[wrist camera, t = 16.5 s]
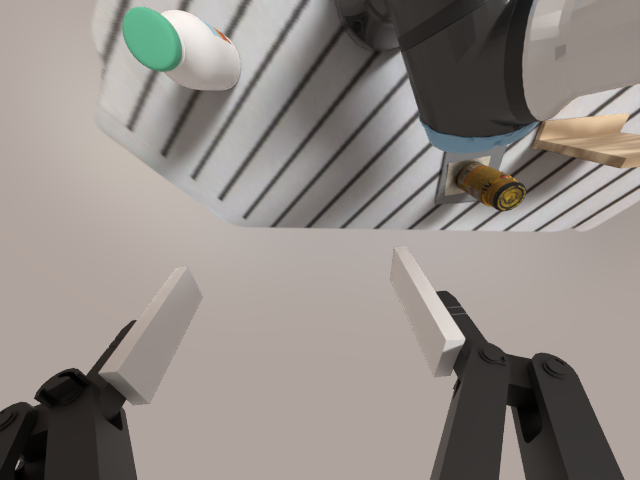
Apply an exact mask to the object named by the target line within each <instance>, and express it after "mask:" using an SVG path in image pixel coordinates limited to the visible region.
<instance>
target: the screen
mask: <svg viewBox="0 0 640 480" xmlns="http://www.w3.org/2000/svg"><path fill="white" fill-rule="evenodd" d="M629 115H630V114H625V113H623V114H613V115H602V116H591V117H580V118H570V119H559V120H548V121H542V123H541V125H540V128H539V130H538V133H537V135H536V138H535V141H534V143H533V146H532V148H533V149H543V150H547V151H551V152H555V153H559V154H563V155H568V156H572V157H576V158H580V159H584V160H588V161H592V162H596V163H600V164H604V165H608V166H612V167H616V168H630V167H640V135H636V134H628V133H621V132H620V131H621V129H622V127H623V126H624V124H625V122H626V120H627V118H628V117H629Z"/></svg>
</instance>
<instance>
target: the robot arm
mask: <svg viewBox="0 0 640 480" xmlns="http://www.w3.org/2000/svg"><path fill="white" fill-rule="evenodd" d="M336 6H337V11H338V14H339V17H340V20H341V22H342V25H343V27H344V29H345V30H346V32H347V33H348V35H349V36H350V37H351V38H352V39H353V40H354V41H355V42H356V43H357V44H358V45H360V46H361V47H363V48H365V49H368V50H371V51H388V50H391V49H394V48H396V47H398V46H400V49H401V54H402V57H403V60H404V64H405V67H406V70H407V74H408V77H409V80H410V84H411V87H412V90H413V94H414V97H415V100H416V104H417V107H418V110H419V119H420V122H421V123H422V125H423V127H424V128H425V131H426V134H427V136H428V139H429V141H430V142H431V144H432V145H433V146H434V147H436V148H438V149H439V150H442V151H445V152H449V153H460V154H464V153H476V152H482V151H487V150H491V149H493V147H494V146H496V145H500V146H505V145H507V144H510V143H512V142H514V141H516V140H518V139H520V138H522V137H523V136H525V135H526V134H528V133H529V132H530V131H531V130H532V129H533V128H534V127H535V126H536V125H537V123H538V121H544V120H548V119H551V118H553V117H554V116H555V115H556V114H558V113H559V112H560V111H561V110H562V109H563V108H564V107H565V106H566V105H568V104H569V103H570V102H571V101H572V100H574V99H575V98H577V97H579V96H583V95H588V94H593V93H598V92H602V91H607V90H612V89H616V88H621V87H626V86H631V85H635V84H640V0H336ZM390 280H391V283H392V285H393V287H394V289H395V292H396V294H397V296H398V298H399V301H400V303H401V305H402V307H403V309H404V312H405V314H406V316H407V318H408V321H409V323H410V325H411V327H412V330H413V332H414V334H415V336H416V339H417V341H418V343H419V345H420V347H421V350H422V352H423V354H424V356H425V359H426V361H427V363H428V365H429V368H430V370H431V372H432V374H433V376H434V377H441V376H450V375H451V373H452V370H453V369H454V371H455V373H456V374H457V376H458V379H457V381H456V383H455V385H454V388H453V389H454V393H453V396H452V400H451V404H450V407H449V412H448V415H447V419H446V423H445V426H444V430H443V434H442V437H441V441H440V445H439V448H438V452H437V456H436V460H435V463H434V467H433V471H432V475H431V478H430V480H499V472H500V462H501V452H502V443H503V433H504V423H505V413H506V405H509V406H511V409H512V413H513V419H514V423H515V428H516V433H517V438H518V444H519V448H520V453H521V458H522V463H523V467H524V473H525V478H526V480H624V477H623V475H622V473H621V471H620V468H619V466H618V464H617V462H616V460H615V457H614V455H613V453H612V451H611V448H610V446H609V444H608V442H607V440H606V437H605V435H604V433H603V431H602V429H601V426H600V424H599V422H598V420H597V417H596V415H595V413H594V411H593V408H592V406H591V404H590V402H589V399H588V397H587V395H586V393H585V391H584V389H583V386H582V384H581V382H580V379H579V377H578V375H577V374H576V372H575V371H574V369H573V368H572V367H571V366H570V365H568V364H567V363H566V362H565V361H563V360H562V359H560V358H558V357H556V356H554V355H550V354H547V353H538V354H535V355H534V357H533V358H532V359H529V358H524V357H519V356H514V355H509V354H506V353H504V352H503V351H502V350H501V349H500V348H498V347H497V346H495V345H493V344H491V343H488V342H487V340H486V339H485V338H484V337H483V335H482V334H481V332H480V331H479V330H478V328H477V327H476V326H475V324H474V323H473V321H472V320H471V319H470V317H469V316H468V315H467V314H466V312H465V311H464V309H463V308H462V307H461V305H460V303H459V302H458V301H457V299H456V298H455V297H454V296H453V295H451V294H450V293H449V292H447V291H438V292H435V291H434V289H433V288H432V286H431V284H430V283H429V281H428V280H427V278H426V277H425V275H424V274H423V272H422V270H421V269H420V267H419V266H418V264H417V263H416V261H415V260H414V258H413V257H412V255H411V253H410V252H409V250H408V249H407V247H406V246H400V247H394V249H393V258H392V268H391V277H390ZM202 298H203V296H202V294H201V292H200V290H199V288H198V286H197V284H196V282H195V280H194V277H193V275H192V273H191V271H190V269H189V267H188V266H186V267H177V268H175V270H174V271H173V272H172V274H171V275H170V276H169V278H168V279H167V281H166V282H165V283H164V284H163V286H162V287H161V289H160V290H159V291H158V293H157V294H156V295H155V297H154V298H153V299H152V301H151V302H150V304H149V305H148V306H147V307H146V309H145V310H144V312H143V313H142V315H141V316H140V317H139V318H138V320H133V321H131V322H130V323H129V324H128V325H127V326H125V327H124V328H123V329H122V330H121V331H120V333H119V334H118V336H116V338H115V340H114V341H113V342H112V343H111V344H110V346H109V348H108V349H106V351H105V352H104V353H103V355H102V356H101V357H100V359H99V360H98V361H97V362H96V364H95V365H94V366H93V368H92V369H91V370H90V371H89V373H88V374H87V375H86V376H85V375H84V374H83V373H82V372H81V371H79V370H78V369H75V368H71V369H66V370H64V371H62V372H60V373H58V374H56V375H55V376H53V377H51V378H50V379H49V380H48V381H46V382H45V383H44V384H43V385H42V386H41V388H40V389H39V390H38V391H37V392H36V395H35V398H34V399H36V400H37V401H38V402H40V403H41V404H40V405H37V406H34V407H33V406H31V405H30V404H28V403H26V402H19V403H16V404H13V405H11V406H9V407H7V408H5V409H4V410H2V411H1V412H0V480H137V475H136V469H135V464H134V459H133V453H132V447H131V442H130V436H129V430H128V425H127V419H126V414H125V411H124V409H123V408H122V406H123V404H124V402H125V401H126V399H127V400H128V401H129V402H130V403H131V404H132V405H142V404H150V402H151V400H152V398H153V396H154V394H155V392H156V390H157V388H158V386H159V384H160V382H161V380H162V378H163V376H164V374H165V372H166V370H167V368H168V366H169V364H170V362H171V360H172V358H173V356H174V354H175V352H176V350H177V348H178V346H179V344H180V342H181V340H182V338H183V336H184V334H185V331H186V330H187V328H188V326H189V324H190V322H191V320H192V318H193V316H194V314H195V312H196V310H197V308H198V306H199V304H200V302H201V300H202ZM18 460H20V463H19V465H18V467H17V469H16V470H15V467H16V465H17V462H18Z"/></svg>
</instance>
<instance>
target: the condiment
mask: <svg viewBox="0 0 640 480" xmlns="http://www.w3.org/2000/svg"><path fill="white" fill-rule="evenodd" d="M490 157H491V156H486V157H480V158H475V159H470V160H465V161H458V162H454V163H449V167H448V172H447V179H446V188H445V196H448V195H454V194H459V193H464V192H466V193H467V194H469V195H471V196H472V197H474V198H475V199H477V200H478V201H480V202H482V203H483V204H485V205H487V206H491V207H494V208H495V209H497V210H500V211H507V210H511V209H513V208H515V207H517V206H518V205H519V204H520V203H521V202H522V201H523V199H524V198H525V195H526V188H525V186H524V185H523V184H522V183H520V182H518V181H516V180H515V179H514V178H513V177H512V176H509V175H507V174H505V173H503V172H500V171H498V170H496V169H493V168H491V167H488V165H489V161H490Z"/></svg>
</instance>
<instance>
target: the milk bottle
mask: <svg viewBox="0 0 640 480" xmlns="http://www.w3.org/2000/svg"><path fill="white" fill-rule="evenodd" d="M122 28H123V36H124V39H125V42H126V44H127V46H128V48H129V50H130V52H131V53H132V54H133V56H134V57H135V58H136V59H137V60H138V61H139V62H140V63H142V64H143V65H144V66H146V67H148V68H150V69H152V70H156V71H161V72H164V73H165V74H166V75H167V76H168V77H169V78H171V79H172V80H173V81H175V82H176V83H178V84H180V85H182V86H184V87H187V88H190V89H196V90H227V89H230V88H232V87H233V86H234V85H235V84H236V83H237V81H238V80H239V77H240V73H241V61H240V57H239V54H238V51H237V49H236V48H235V46H234V44H233V43H232V42H231V41H230V40H229V39H228V38H227V37H226V36H225V35H223V34H222V33H221V32H219V31H218V30H216V29H215V28H213V27H212V26H210V25H209V24H207V23H206V22H204V21H203V20H201V19H199V18H198V17H196V16H194V15H192V14H190V13H187V12H184V11H180V10H169V11H165V12H163V13H161V14H159V13H158V12H156V11H154V10H152V9H149V8H146V7H136V8H133V9H131V10H129V11H128V12H127V13H126V15H125V17H124V20H123V26H122Z"/></svg>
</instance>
